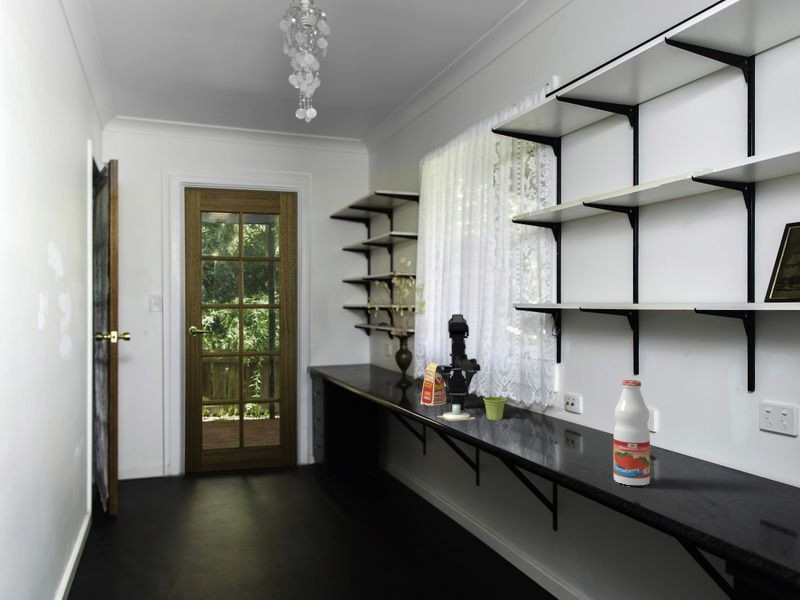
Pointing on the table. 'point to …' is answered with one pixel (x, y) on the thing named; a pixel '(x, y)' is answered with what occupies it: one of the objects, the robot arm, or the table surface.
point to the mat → (455, 420)
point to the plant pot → (494, 407)
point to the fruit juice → (631, 437)
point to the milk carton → (433, 387)
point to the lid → (456, 413)
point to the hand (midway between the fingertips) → (458, 389)
